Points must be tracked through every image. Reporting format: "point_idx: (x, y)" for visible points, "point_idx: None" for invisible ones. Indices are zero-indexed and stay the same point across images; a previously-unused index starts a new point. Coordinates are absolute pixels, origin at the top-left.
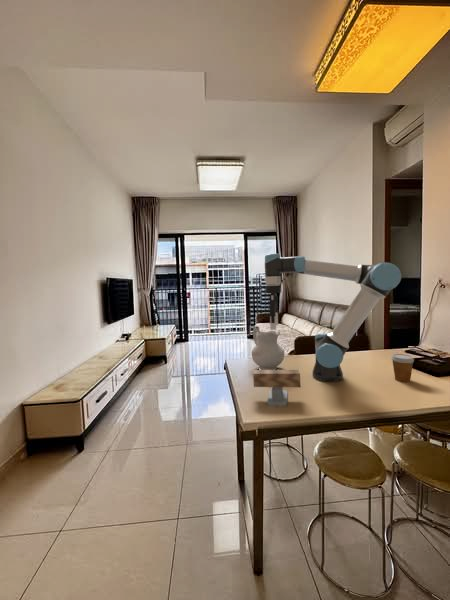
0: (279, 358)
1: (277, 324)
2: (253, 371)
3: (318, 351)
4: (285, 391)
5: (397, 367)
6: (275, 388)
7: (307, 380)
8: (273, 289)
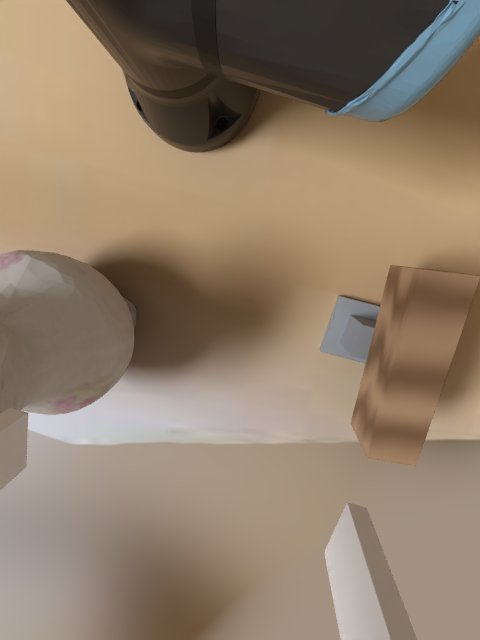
0: (109, 289)
1: (21, 421)
2: (388, 461)
3: (437, 81)
4: (345, 304)
5: None
6: None
7: (232, 189)
8: None
